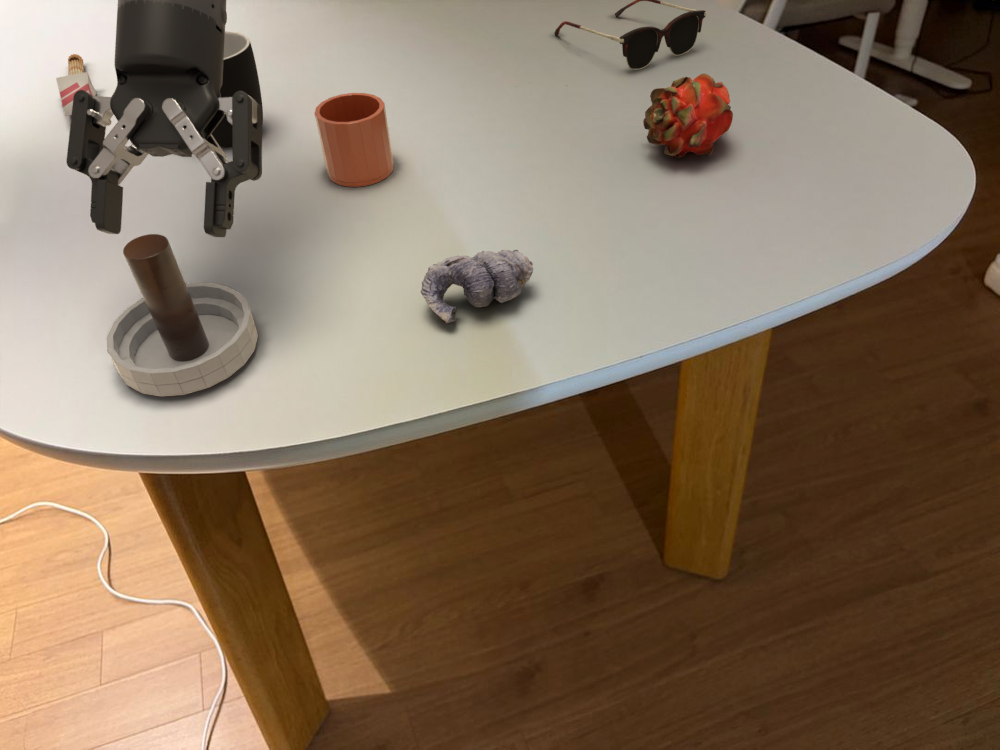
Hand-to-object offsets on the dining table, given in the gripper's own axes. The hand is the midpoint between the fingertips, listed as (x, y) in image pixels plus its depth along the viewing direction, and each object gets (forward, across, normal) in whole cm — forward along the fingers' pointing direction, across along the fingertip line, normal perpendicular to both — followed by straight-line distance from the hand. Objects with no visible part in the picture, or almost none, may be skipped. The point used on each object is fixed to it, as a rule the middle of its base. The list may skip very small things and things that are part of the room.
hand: (161, 233), depth 60 cm
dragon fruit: (-16, +41, +31) cm, 54 cm away
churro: (-25, -35, +39) cm, 58 cm away
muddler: (+8, 0, +5) cm, 10 cm away
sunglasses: (-36, +34, +51) cm, 71 cm away
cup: (-12, +7, +27) cm, 30 cm away
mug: (-17, -12, +32) cm, 38 cm away
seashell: (+3, +23, +12) cm, 26 cm away
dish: (+9, 0, +6) cm, 10 cm away
